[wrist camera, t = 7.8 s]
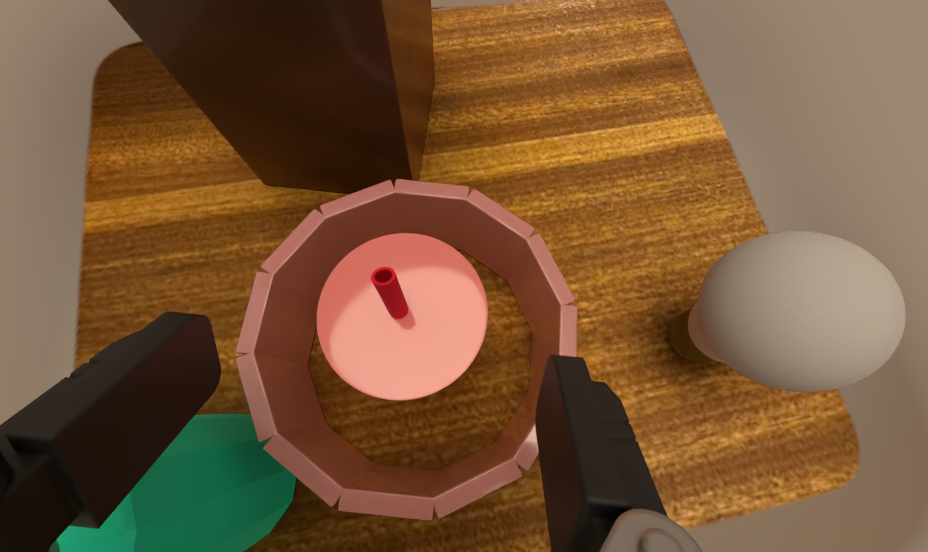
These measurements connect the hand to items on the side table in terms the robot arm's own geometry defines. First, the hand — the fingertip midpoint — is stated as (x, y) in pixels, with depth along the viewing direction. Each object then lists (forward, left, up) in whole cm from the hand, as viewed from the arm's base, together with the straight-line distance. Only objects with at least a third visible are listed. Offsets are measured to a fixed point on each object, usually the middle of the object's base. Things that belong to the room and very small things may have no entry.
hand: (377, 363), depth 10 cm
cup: (0, +2, -12) cm, 12 cm away
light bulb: (+14, +4, -12) cm, 19 cm away
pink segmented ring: (0, +2, -12) cm, 12 cm away
